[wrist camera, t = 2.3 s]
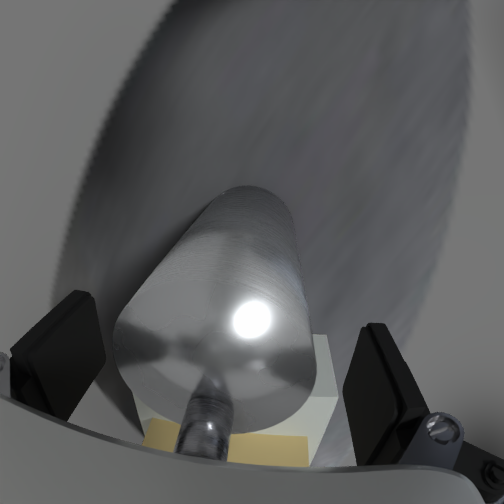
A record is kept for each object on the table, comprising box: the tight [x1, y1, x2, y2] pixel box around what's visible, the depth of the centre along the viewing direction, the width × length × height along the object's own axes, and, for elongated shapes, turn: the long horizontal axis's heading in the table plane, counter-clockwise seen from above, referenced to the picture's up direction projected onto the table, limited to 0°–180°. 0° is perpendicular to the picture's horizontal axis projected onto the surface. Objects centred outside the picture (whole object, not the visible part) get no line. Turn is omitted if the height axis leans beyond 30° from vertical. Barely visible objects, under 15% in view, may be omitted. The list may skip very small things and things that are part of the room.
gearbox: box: [132, 334, 338, 467], centre depth 21 cm, size 18×12×9 cm, turn 176°
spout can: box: [112, 186, 317, 461], centre depth 12 cm, size 6×6×14 cm
